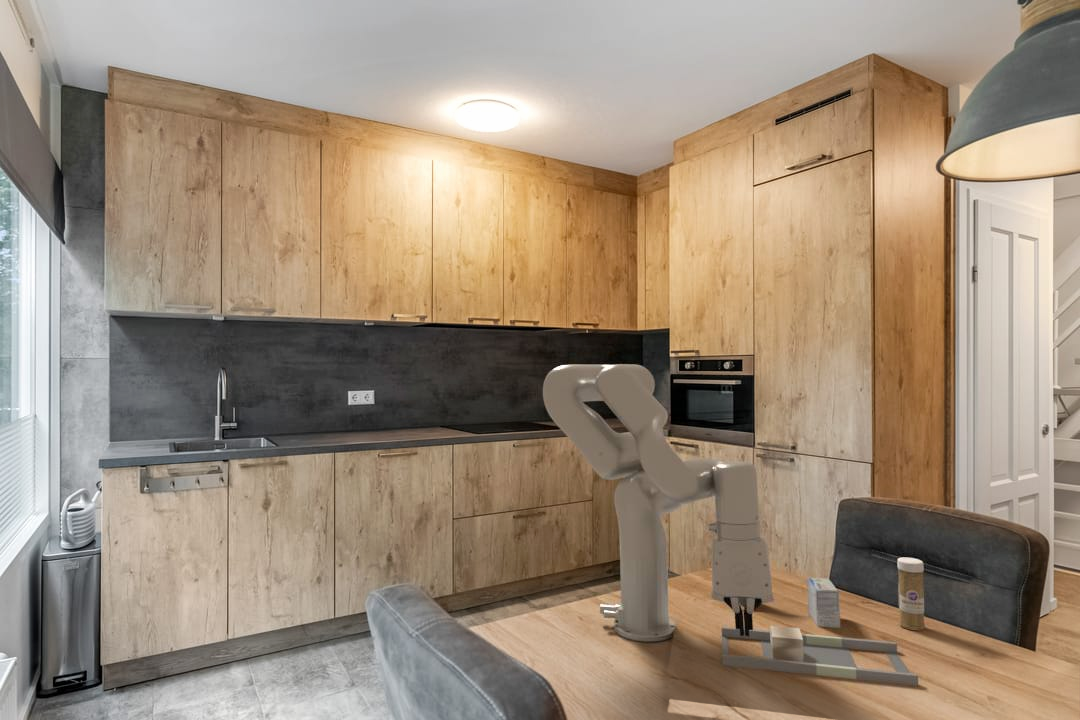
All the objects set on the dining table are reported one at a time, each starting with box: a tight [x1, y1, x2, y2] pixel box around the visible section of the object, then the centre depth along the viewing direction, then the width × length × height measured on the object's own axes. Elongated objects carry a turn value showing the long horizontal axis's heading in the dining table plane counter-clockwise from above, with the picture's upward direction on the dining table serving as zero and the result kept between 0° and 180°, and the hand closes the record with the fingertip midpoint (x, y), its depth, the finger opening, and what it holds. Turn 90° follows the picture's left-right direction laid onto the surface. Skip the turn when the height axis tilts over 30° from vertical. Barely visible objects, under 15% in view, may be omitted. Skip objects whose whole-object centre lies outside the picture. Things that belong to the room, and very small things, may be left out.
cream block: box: [769, 625, 804, 662], centre depth 111 cm, size 5×5×4 cm
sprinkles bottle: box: [896, 556, 926, 631], centre depth 126 cm, size 5×5×14 cm
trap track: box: [721, 626, 919, 687], centre depth 110 cm, size 30×13×3 cm, turn 74°
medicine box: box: [807, 577, 841, 628], centre depth 127 cm, size 8×4×9 cm, turn 168°
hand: (744, 633), depth 113 cm, fingers closed
